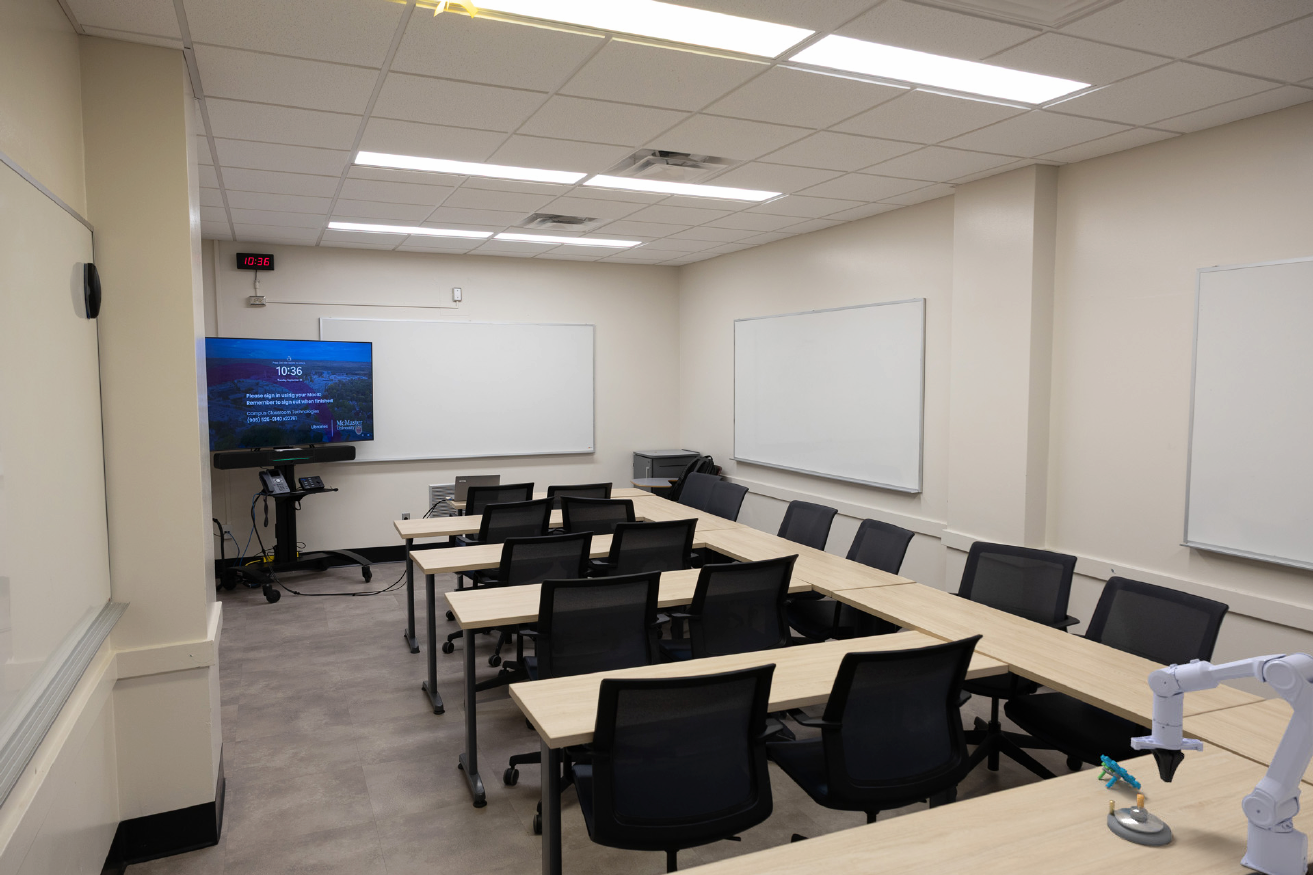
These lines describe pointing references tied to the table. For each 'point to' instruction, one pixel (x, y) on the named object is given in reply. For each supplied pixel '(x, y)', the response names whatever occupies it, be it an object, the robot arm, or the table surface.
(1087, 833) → the table surface
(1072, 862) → the table surface
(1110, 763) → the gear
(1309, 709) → the robot arm
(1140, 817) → the flange
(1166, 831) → the post base
